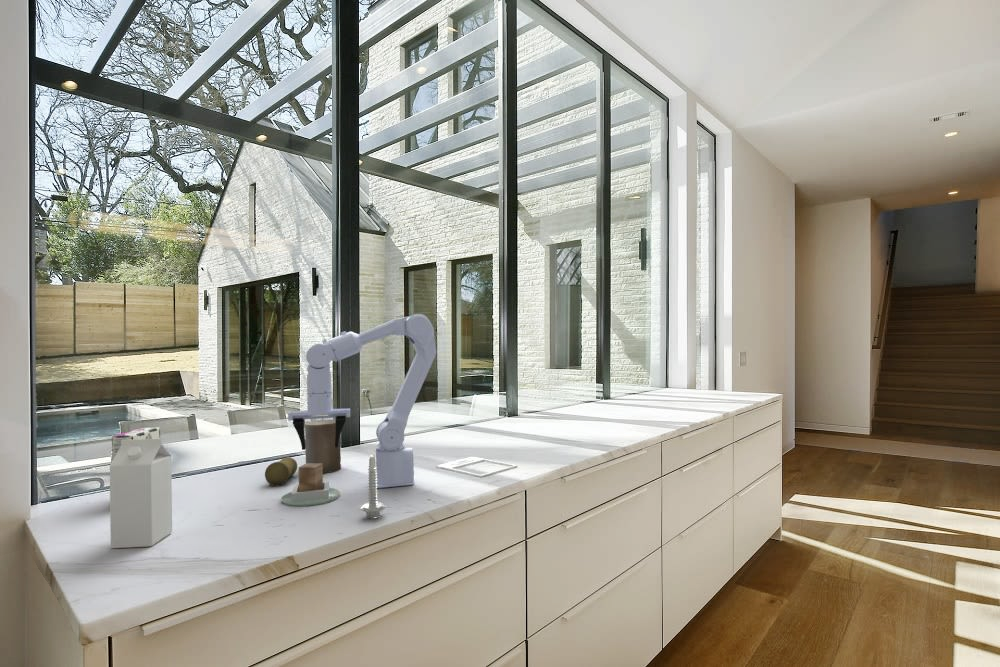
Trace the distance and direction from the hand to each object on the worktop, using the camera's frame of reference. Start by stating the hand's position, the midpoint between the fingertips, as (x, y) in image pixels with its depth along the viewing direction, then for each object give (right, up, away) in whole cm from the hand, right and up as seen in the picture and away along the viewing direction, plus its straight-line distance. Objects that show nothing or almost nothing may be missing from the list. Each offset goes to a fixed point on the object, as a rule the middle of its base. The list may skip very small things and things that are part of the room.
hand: (320, 447), depth 132 cm
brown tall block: (0, -10, -6) cm, 12 cm away
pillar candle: (-6, -11, +21) cm, 24 cm away
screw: (+18, -10, -21) cm, 29 cm away
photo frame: (+38, -11, +21) cm, 44 cm away
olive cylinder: (-13, -8, +4) cm, 15 cm away
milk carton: (-22, -11, -32) cm, 41 cm away
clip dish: (0, -10, -6) cm, 12 cm away
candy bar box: (-41, -11, -6) cm, 43 cm away
